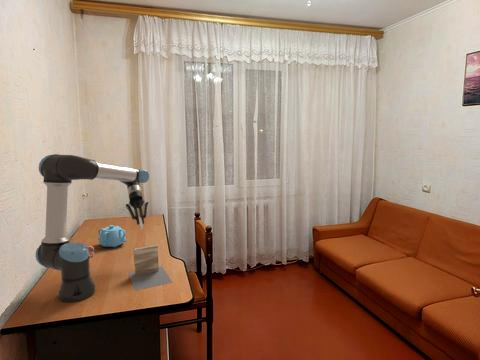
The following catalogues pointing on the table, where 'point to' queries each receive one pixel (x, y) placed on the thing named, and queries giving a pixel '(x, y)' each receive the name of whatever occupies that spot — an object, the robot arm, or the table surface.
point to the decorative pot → (111, 236)
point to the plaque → (146, 259)
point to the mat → (149, 279)
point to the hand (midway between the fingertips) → (141, 228)
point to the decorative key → (92, 251)
